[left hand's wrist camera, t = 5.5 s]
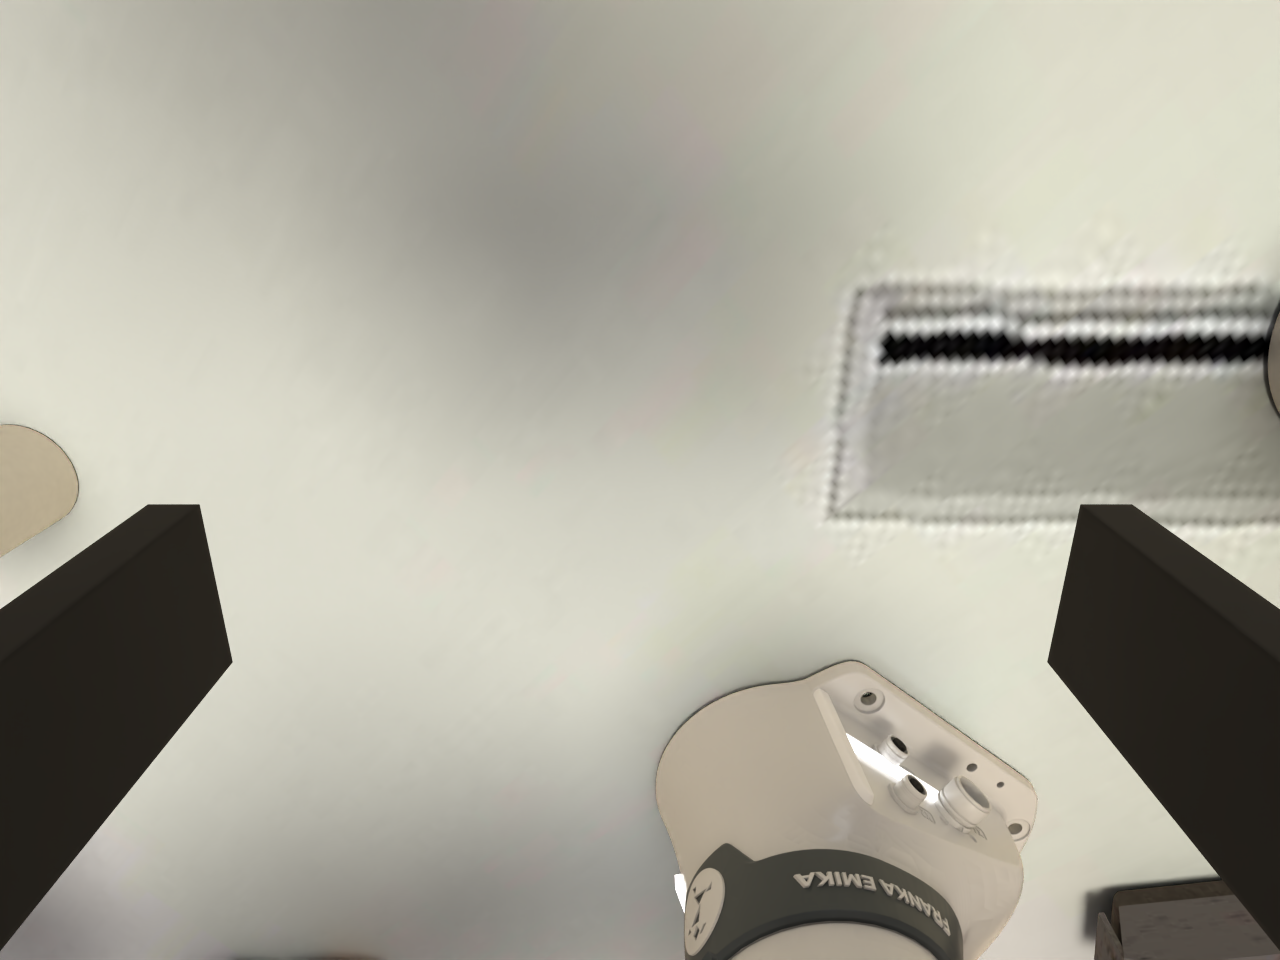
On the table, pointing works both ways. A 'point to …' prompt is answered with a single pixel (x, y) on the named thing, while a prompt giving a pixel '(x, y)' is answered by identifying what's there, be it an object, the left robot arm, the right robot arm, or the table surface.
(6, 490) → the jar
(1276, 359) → the bust sculpture
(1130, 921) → the toy
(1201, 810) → the left robot arm
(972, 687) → the table surface
